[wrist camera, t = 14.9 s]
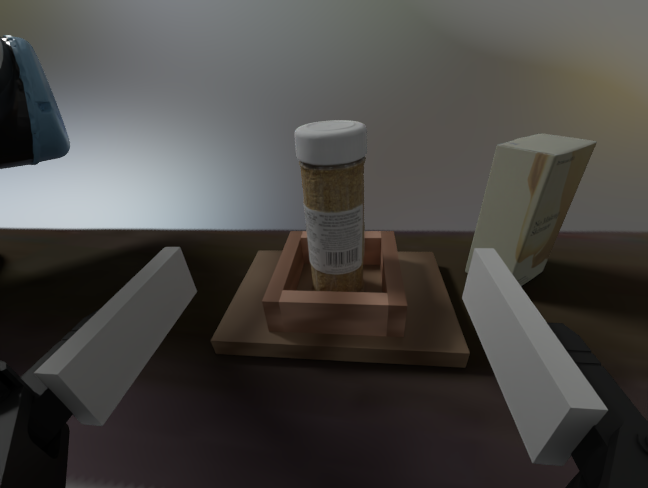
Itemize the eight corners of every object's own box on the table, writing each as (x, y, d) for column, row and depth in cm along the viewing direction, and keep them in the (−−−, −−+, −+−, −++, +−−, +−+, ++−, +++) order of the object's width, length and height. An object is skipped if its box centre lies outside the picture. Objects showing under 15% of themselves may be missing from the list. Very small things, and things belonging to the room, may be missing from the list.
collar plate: (215, 354, 22) (198, 310, 20) (261, 262, 32) (253, 225, 30) (465, 367, 20) (479, 320, 18) (430, 264, 30) (436, 225, 28)
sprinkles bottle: (363, 273, 27) (366, 116, 20) (364, 309, 23) (368, 130, 16) (314, 273, 27) (299, 119, 20) (307, 308, 24) (286, 133, 17)
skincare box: (506, 297, 25) (556, 155, 19) (462, 272, 29) (492, 144, 22) (546, 270, 28) (601, 138, 22) (501, 250, 31) (539, 130, 25)
